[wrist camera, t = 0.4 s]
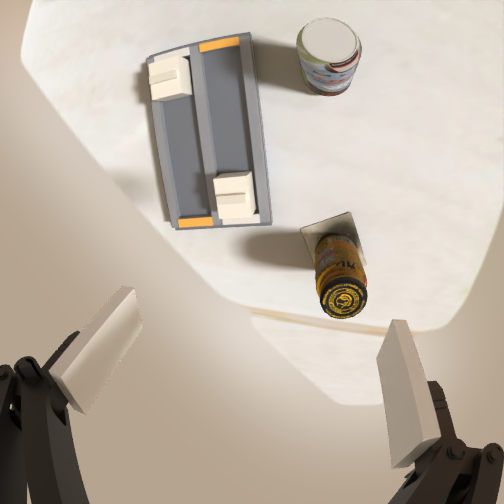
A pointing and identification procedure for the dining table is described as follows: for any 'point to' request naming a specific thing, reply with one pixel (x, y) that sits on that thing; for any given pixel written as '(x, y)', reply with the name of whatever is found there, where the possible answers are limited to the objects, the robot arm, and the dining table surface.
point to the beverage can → (328, 55)
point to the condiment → (338, 265)
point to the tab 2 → (235, 195)
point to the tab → (170, 79)
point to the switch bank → (212, 133)
